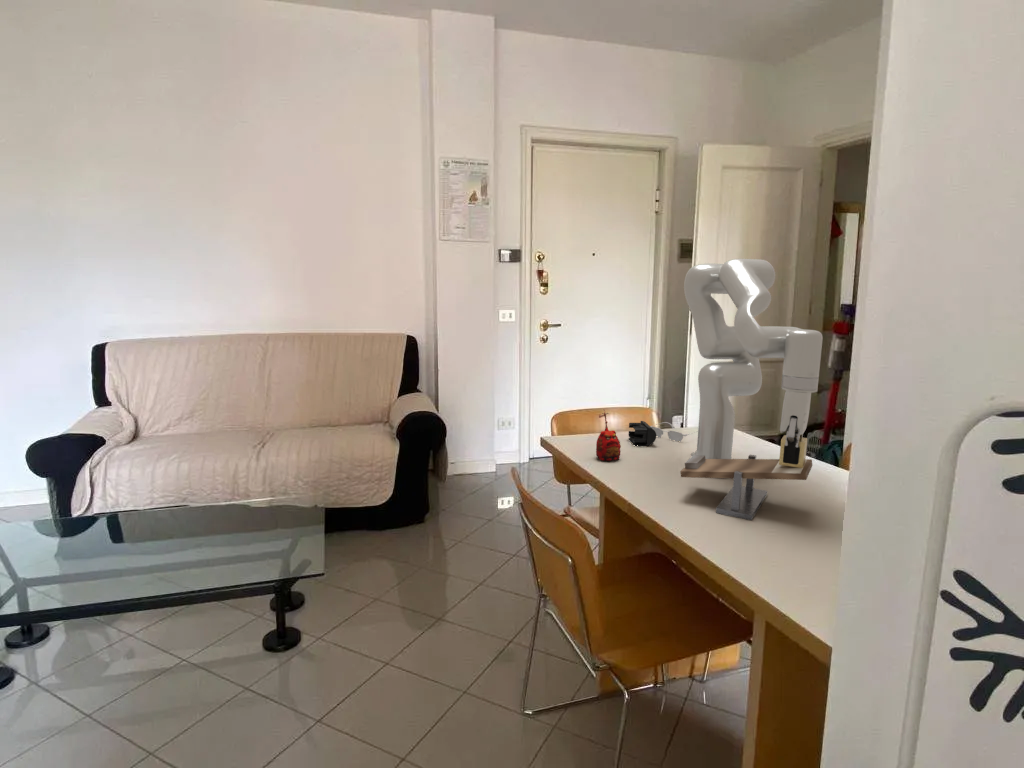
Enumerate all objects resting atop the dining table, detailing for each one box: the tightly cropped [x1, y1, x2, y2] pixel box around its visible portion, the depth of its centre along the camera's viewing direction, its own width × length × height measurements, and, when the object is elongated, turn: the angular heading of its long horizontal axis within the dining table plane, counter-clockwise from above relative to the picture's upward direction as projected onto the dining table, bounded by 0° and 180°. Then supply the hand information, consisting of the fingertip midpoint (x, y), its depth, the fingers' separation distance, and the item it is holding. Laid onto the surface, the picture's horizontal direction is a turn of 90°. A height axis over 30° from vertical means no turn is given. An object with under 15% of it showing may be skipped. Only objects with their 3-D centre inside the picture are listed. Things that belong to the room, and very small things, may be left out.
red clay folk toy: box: [595, 409, 622, 462], centre depth 181 cm, size 8×7×15 cm
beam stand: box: [715, 454, 768, 521], centre depth 146 cm, size 8×20×10 cm, turn 148°
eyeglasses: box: [649, 421, 698, 443], centre depth 214 cm, size 15×18×4 cm
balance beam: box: [680, 456, 813, 481], centre depth 145 cm, size 28×14×3 cm, turn 58°
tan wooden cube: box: [778, 434, 808, 468], centre depth 139 cm, size 5×5×6 cm
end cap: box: [628, 420, 657, 447], centre depth 201 cm, size 10×7×7 cm
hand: (792, 459), depth 139 cm, fingers closed on tan wooden cube, 5 cm apart
